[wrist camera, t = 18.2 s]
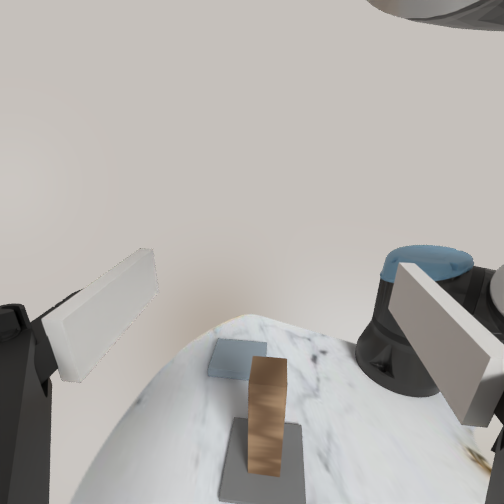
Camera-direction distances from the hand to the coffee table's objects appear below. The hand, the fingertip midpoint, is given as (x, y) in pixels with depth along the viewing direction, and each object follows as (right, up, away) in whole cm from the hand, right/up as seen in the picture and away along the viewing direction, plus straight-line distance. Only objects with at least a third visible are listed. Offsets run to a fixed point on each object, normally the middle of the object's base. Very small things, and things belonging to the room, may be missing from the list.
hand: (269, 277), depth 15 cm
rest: (+1, -26, +21) cm, 33 cm away
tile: (-4, -20, +33) cm, 39 cm away
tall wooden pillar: (+1, -26, +21) cm, 33 cm away
